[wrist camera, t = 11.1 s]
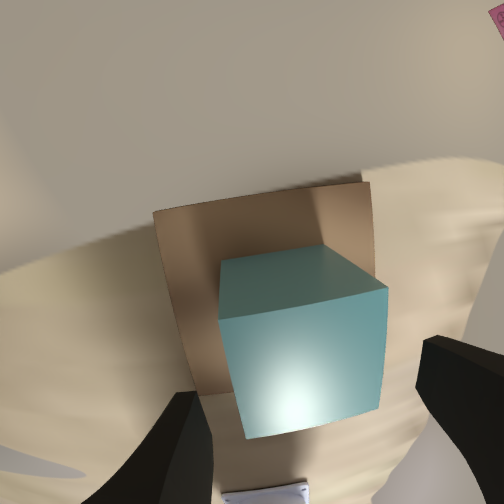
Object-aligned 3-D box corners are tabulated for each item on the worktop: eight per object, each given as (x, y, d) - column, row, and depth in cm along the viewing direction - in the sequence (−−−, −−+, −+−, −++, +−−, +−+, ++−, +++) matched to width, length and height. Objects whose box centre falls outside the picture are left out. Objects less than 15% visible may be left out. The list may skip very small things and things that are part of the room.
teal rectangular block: (329, 333, 16) (378, 408, 10) (237, 350, 16) (246, 439, 9) (324, 244, 15) (388, 287, 8) (221, 260, 15) (217, 319, 8)
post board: (367, 355, 18) (405, 404, 13) (199, 388, 17) (193, 450, 12) (363, 181, 15) (419, 184, 10) (156, 210, 15) (121, 225, 9)
